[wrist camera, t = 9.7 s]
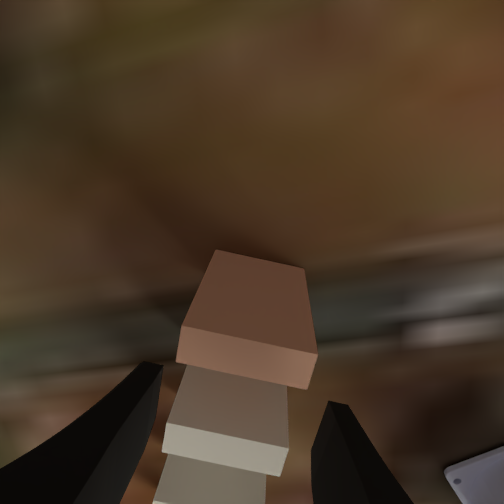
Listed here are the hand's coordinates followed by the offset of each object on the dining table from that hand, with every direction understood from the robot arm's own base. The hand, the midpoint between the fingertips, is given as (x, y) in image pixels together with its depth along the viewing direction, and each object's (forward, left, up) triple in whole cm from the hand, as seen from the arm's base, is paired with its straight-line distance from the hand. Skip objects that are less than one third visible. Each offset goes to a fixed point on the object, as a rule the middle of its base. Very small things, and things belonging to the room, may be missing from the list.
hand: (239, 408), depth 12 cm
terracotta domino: (0, 0, -10) cm, 10 cm away
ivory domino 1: (-3, +3, -10) cm, 11 cm away
